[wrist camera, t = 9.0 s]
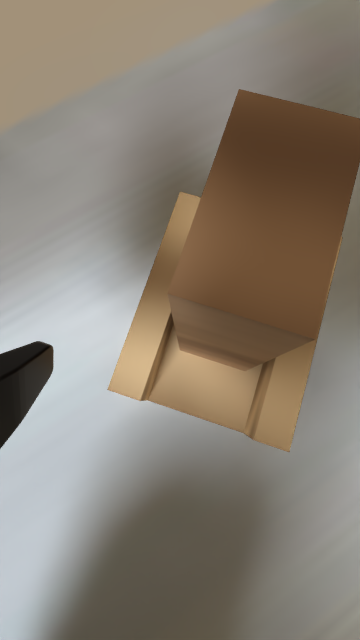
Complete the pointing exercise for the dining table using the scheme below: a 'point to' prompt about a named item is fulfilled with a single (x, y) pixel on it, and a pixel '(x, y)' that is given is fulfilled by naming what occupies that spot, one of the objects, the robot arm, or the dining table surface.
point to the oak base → (206, 360)
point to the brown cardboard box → (265, 232)
